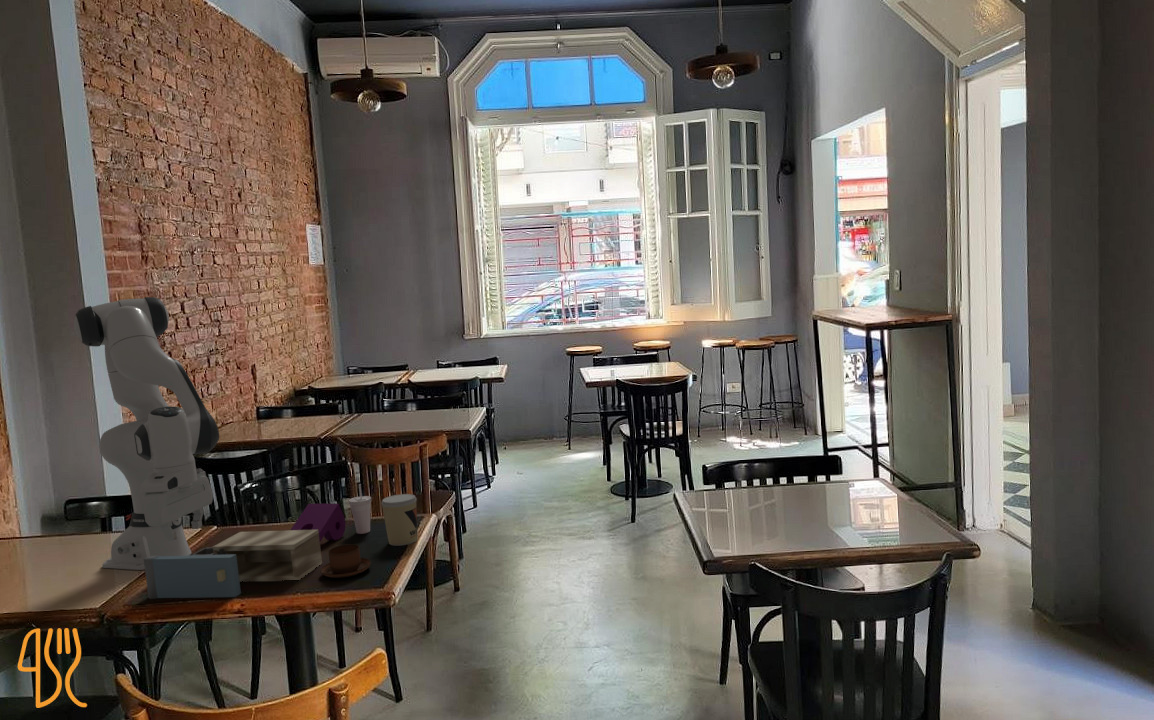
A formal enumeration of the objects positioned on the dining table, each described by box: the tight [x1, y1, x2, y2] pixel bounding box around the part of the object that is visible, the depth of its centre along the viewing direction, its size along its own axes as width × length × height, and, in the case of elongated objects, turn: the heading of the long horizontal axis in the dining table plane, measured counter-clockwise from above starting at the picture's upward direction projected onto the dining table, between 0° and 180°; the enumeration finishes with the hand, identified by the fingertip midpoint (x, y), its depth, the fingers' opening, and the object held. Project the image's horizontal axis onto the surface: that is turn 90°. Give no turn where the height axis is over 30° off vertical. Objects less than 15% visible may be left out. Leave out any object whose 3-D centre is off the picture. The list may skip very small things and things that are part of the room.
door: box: [144, 554, 242, 600], centre depth 201 cm, size 23×4×10 cm, turn 79°
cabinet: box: [190, 529, 323, 583], centre depth 212 cm, size 25×17×9 cm
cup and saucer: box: [320, 543, 372, 579], centre depth 210 cm, size 12×12×6 cm
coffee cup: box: [381, 493, 418, 547], centre depth 232 cm, size 9×9×12 cm
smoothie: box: [348, 483, 372, 535], centre depth 244 cm, size 6×6×14 cm
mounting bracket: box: [290, 502, 347, 542], centre depth 237 cm, size 10×9×19 cm
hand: (184, 534), depth 201 cm, fingers open, 8 cm apart
